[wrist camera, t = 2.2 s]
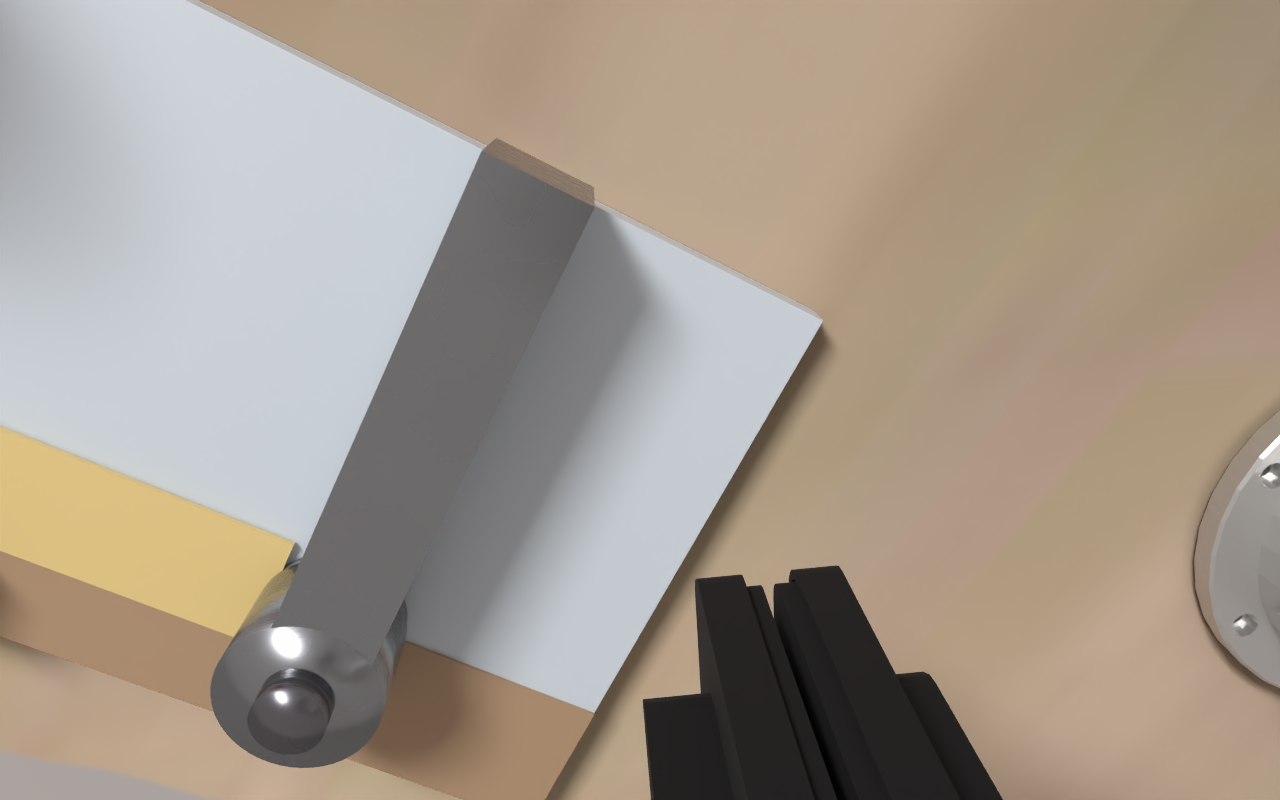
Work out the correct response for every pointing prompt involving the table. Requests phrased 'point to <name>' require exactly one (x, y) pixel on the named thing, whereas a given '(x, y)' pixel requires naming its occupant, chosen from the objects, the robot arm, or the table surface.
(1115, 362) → the table surface
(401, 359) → the latch bar
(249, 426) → the door board
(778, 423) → the table surface
